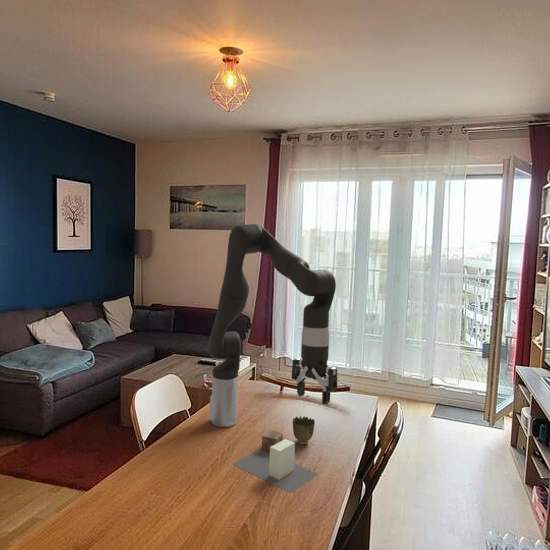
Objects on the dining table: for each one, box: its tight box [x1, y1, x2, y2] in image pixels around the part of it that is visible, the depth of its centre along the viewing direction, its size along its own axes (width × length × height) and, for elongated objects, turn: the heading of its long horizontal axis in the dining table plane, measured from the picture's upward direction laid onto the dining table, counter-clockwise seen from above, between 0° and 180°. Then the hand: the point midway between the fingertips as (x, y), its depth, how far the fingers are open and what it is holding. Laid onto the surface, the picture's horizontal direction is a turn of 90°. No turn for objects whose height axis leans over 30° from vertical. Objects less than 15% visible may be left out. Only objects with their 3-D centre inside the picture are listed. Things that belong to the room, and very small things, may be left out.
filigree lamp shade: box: [292, 415, 316, 446], centre depth 150 cm, size 8×7×8 cm
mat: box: [232, 448, 319, 494], centre depth 133 cm, size 22×13×1 cm, turn 51°
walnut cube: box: [261, 429, 284, 452], centre depth 146 cm, size 5×5×5 cm
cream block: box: [269, 438, 296, 480], centre depth 131 cm, size 4×7×8 cm, turn 141°
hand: (313, 399), depth 127 cm, fingers open, 8 cm apart
